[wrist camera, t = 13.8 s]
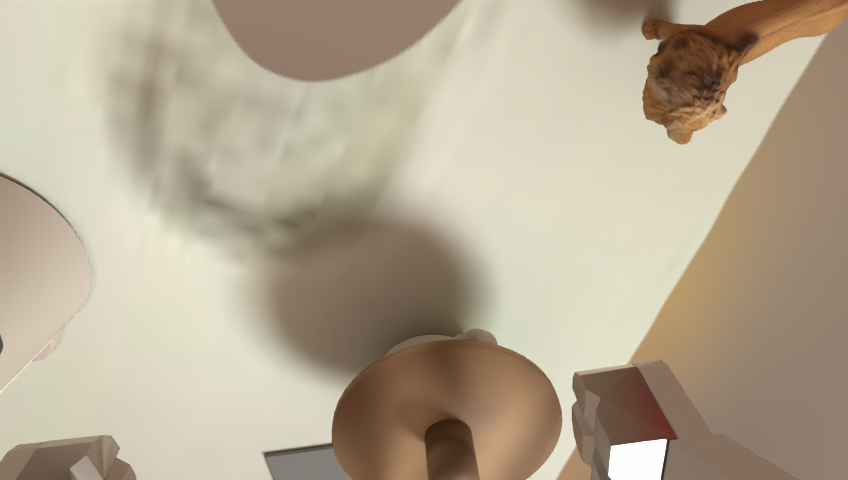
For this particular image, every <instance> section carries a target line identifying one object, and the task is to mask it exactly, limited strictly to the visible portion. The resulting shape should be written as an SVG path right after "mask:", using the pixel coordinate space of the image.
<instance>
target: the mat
mask: <svg viewBox="0 0 848 480" xmlns="http://www.w3.org/2000/svg"><path fill="white" fill-rule="evenodd" d="M265 458H266V461H267V463H268V466H269V468H270V471H271V473H272V476H273V478H274V480H353V479H351V478H350V477H349V475H348V474H347V473H346V472H345V471H344V470H343V468H342V467H341V465H340V463H339V462H338V460H337V457H336V455H335V453H334V449H333V445H330V446H322V447H315V448H307V449H300V450H292V451H285V452H277V453H269V454H266V456H265Z"/></svg>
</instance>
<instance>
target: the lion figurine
mask: <svg viewBox="0 0 848 480" xmlns="http://www.w3.org/2000/svg"><path fill="white" fill-rule="evenodd" d="M847 10H848V0H762V1H757V2H752V3H747V4H744V5H741V6H738V7H736V8H733V9H731V10H729V11H727V12H725V13H723V14H721V15H719V16H718V17H716V18H715V19H713V20H712V21H710V22H708V23H707V24H706V25H683V24H673V23H668V22H664V21H660V20H650V21H648V22H647V23H646V25H645V26H644V29H643V35H644V36H645V38H646V40H652V39H657V40H661V39H664V40H665V41H662V42H661V43H660V44H659V46H658V52H657V53H656V54H655V55H653V56H652V57H651V58H650V63H649V65H648V66H647V71H648V78H647V80H646V84H645V88H644V90H643V97H642V100H643V109H644V114H645V117H646V119H647V120H651V121H654V122H655V123H658V124H659V125H664V127H665V128H667V135H668V137H669V138H670V139H672V140H673V141H675V142H677V143H678V144H681V145H682V144H687V143H688V142H689V141H690V140H691V137H692V134H693V132H694V131H697V130H699V129H702V128H704V127H706V126H707V124H708V123H711V122H712V121H713V120H718V119H720V118H721V117H722V116H723V115H724V114H726V113H727V109H726V108H725V107H724V106H723V102H724V99H725V94H726V90H727V89H728V87H729V86H730V85H731V84H732V83H733V82H735V81H736V79H737V73H738V71H737V70H738V68H739V66H740V65H743V64H745V63H748V62H750V61H752V60H754V59H756V58H758V57H760V56H762V55H764V54H766V53H767V52H769V51H770V50H772V49H774V48H775V47H777V46H779V45H781V44H783V43H785V42H787V41H790V40H792V39H796V38H801V37H813V36H819V35H822V34H825V33H827V32H829V31H830V30H832V29H833V28H834V27H836V26H837V25H838V24H840V23H841V22H842V21H843V19H844V18H845V15H846V11H847Z"/></svg>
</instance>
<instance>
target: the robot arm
mask: <svg viewBox="0 0 848 480" xmlns="http://www.w3.org/2000/svg"><path fill="white" fill-rule="evenodd" d="M90 287H91V269H90V264H89V260H88V257H87V254H86V251H85V249H84V247H83V245H82V243H81V241H80V239H79V238H78V236H77V235H76V233H75V232H74V230H73V229H72V228H71V226H70V225H69V224H68V223H67V222H66V220H65V219H64V218H63V217H62V216H61V215H60V214H59V213H58V212H57V211H56V210H55V209H53V208H52V207H51V206H50V205H49V204H48V203H46V202H45V201H44V200H42V199H41V198H40V197H38V196H37V195H35V194H34V193H32V192H31V191H29V190H27V189H26V188H24V187H22V186H20V185H18V184H16V183H14V182H12V181H10V180H8V179H6V178H3V177H1V176H0V392H1V391H2V390H3V389H4V388H5V387H6V386H7V385H8V384H9V383H10V382H11V381H12V380H13V379H14V378H15V377H16V376H17V375H18V374H19V373H20V372H21V371H22V370H23V369H24V368H25V367H26V366H27V365H28V364H29V363H30V362H31V361H41V360H44V359H46V358H47V357H48V356H49V355H50V354H51V353H52V352H53V351H54V350H55V349H56V348H57V346H58V343H59V340H60V335H61V330H62V328H63V327H64V325H65V324H66V323H67V322H68V321H69V320H71V319H72V318H73V317H74V316H75V315H76V314H77V313H78V312H79V311H80V309H81V308H82V307H83V305H84V304H85V302H86V300H87V298H88V295H89V291H90ZM573 391H574V393H575V396H576V398H577V401H576V402H575V403H574V404H573V406H572V424H573V431H574V437H575V440H576V444H577V448H578V450H579V453H580V456H581V459H582V461H583V462H585V463H586V464H587V465H589V466H590V467H591V468H592V469H591V471H592V472H591V480H799V479H798V478H796V477H794V476H793V475H791V474H789V473H788V472H786V471H784V470H783V469H781V468H779V467H778V466H776V465H774V464H773V463H771V462H769V461H768V460H766V459H764V458H763V457H761V456H759V455H758V454H756V453H754V452H753V451H751V450H749V449H748V448H746V447H744V446H743V445H741V444H739V443H738V442H736V441H734V440H732V439H731V438H729V437H727V436H726V435H724V434H714V435H713V433H712V432H711V430H710V429H709V427H708V425H707V424H706V422H705V421H704V419H703V418H702V416H701V415H700V413H699V412H698V410H697V409H696V407H695V406H694V404H693V403H692V401H691V400H690V398H689V397H688V395H687V394H686V392H685V391H684V389H683V388H682V386H681V385H680V383H679V382H678V380H677V379H676V377H675V376H674V374H673V372H672V371H671V369H670V368H669V366H668V365H667V364H666V363H665V362H664V361H662V360H656V361H649V362H642V363H635V364H632V365H630V364H627V365H620V366H613V367H606V368H599V369H592V370H585V371H578V372H575V373H574V376H573ZM119 449H120V447H119V446H118V445H117V443H116V442H115V440H114V439H113V437H112V436H108V435H100V436H91V437H81V438H72V439H62V440H53V441H47V442H39V443H30V444H21V445H18V446H16V447H14V448H13V449H11V450H10V451H8V452H7V454H6V455H5V456H4V458H3V459H2V461H1V462H0V480H136V475H135V473H134V471H133V469H132V468H131V466H130V465H129V464H127V463H126V462H124V461H122V460H120V459H118V458H116V457H117V454H118V452H119Z"/></svg>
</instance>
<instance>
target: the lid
mask: <svg viewBox="0 0 848 480" xmlns="http://www.w3.org/2000/svg"><path fill="white" fill-rule="evenodd" d="M561 427H562V411H561V407H560V403H559V399H558V397H557V394H556V391H555V389H554V387H553V385H552V383H551V381H550V380H549V379H548V377H547V376H546V375H545V373H544V372H543V371H542V370H541V369H540V368H539V367H538V366H537V365H536V364H534V363H533V362H531V361H530V360H529V359H527V358H526V357H524V356H522V355H520V354H518V353H516V352H514V351H513V350H510V349H507V348H504V347H502V346H499V345H495V344H491V343H486V342H481V341H472V340H442V341H433V342H427V343H422V344H418V345H414V346H411V347H407V348H404V349H401V350H399V351H397V352H394V353H392V354H389V355H387V356H385V357H384V358H382V359H380V360H378V361H376V362H375V363H373V364H372V365H370V366H369V367H368V368H366V369H365V370H363V371H362V372H361V373H360V374H359V375H358V376H357V377H356V378H355V379H354V380H353V381H352V382H351V383H350V384H349V386H348V387H347V388H346V389H345V391H344V392H343V394H342V396H341V398H340V399H339V401H338V404H337V407H336V409H335V412H334V418H333V425H332V444H333V449H334V453H335V455H336V457H337V460H338V462H339V463H340V465H341V467H342V468H343V470H344V471H345V472H346V473H347V474H348V475H349V477H350V478H351V479H353V480H526V479H527V478H529V477H530V476H531V475H532V474H534V473H535V472H536V471H537V470H538V469H539V468H540V467H541V466H542V465H543V464H544V463H545V461H546V460H547V459H548V458H549V456H550V455H551V453H552V452H553V450H554V448H555V446H556V444H557V442H558V439H559V436H560V432H561Z"/></svg>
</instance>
